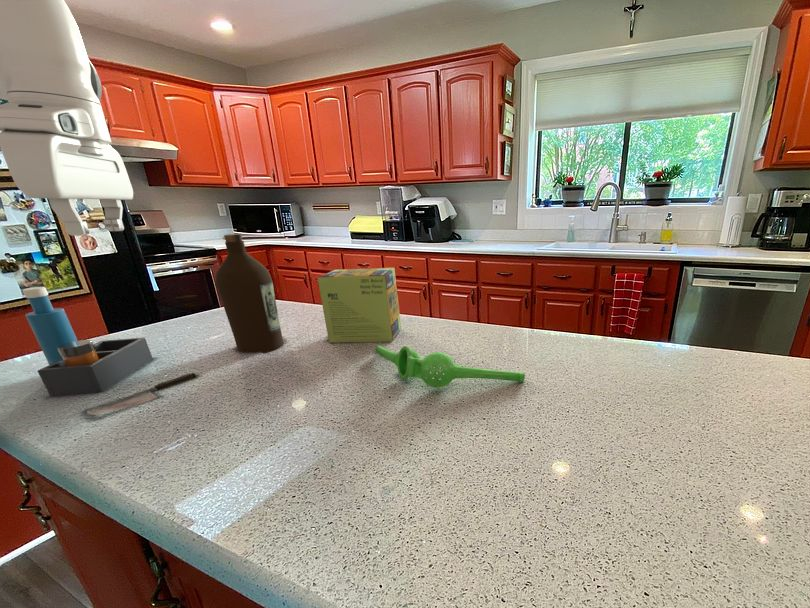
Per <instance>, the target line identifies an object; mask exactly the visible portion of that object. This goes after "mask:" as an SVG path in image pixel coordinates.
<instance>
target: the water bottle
mask: <svg viewBox="0 0 810 608" xmlns="http://www.w3.org/2000/svg"><path fill="white" fill-rule="evenodd" d="M21 291H22V293H23V295H24V298H26V299H27V300H28V302H29V304H30V306H31V308H32V312H31V311H30V312H28V313H25V314H24V316H25V318H26V320H27V322H28V325H29V326H30V328H31V331H32V332H33V334H34V337H35V339H36V340H37V343H38V345H39V347H40V349H41V351H42V353H43V355H44V357H45V359H46V361H47V363H48V365H51V364H53V363H55V362H57V361H59V360H61V359H63V358H62V356H61V355H60V353H59V351H58V349H57V347H58V346H60V345H63V344H66V343H69V342H74V341H79V340H78V338H77V336H76V334H75V331H74V329H73V327H72V324H71V322H70V320H69V318H68V315H67V314H66V311H65V309H64V308H61V307H55V308H54V307H53V305H52V303H51V300H50V298H49V292H48V290H47V288H46V287H45V286H35V287H27V288H24V289H22V290H21Z"/></svg>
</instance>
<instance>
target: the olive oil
mask: <svg viewBox="0 0 810 608" xmlns="http://www.w3.org/2000/svg"><path fill="white" fill-rule="evenodd" d="M223 238H224V240H225V242H224V244H225V248H226V251H227V255H226V257H225V258H224V260H223V261H222V263H221V264H220V265H219V267H218V268H217V271H216V272H215V287H216V289H217V292H218V295H219V297H220V300H221V303H222V306H223V308H224V311H225V315H226V317H227V321H228V323H229V326H230V329H231V332H232V335H233V339H234V342H235V345H236V348H237V351H238V352H240V353H248V354H249V353H262V354H264V353H268V352H272V351H275V350H277V349H279V348H281V347H283V345H284V339H283V338H284V337H283V333H282V328H281V323H280V317H279V313H278V312H279V311H278V307H277V300H276V294H275V289H274V283H273V279H272V276H271V274H270V272H269V270H268V268H267V267H265V265H263V264H262V263H261V262H259V261H258V260H257V259H255V258H254V257H253V256H251V255H250V254H249V253H248V252H247V250H246V246H245V241H244V240H243V237H242V234H240V233H233V234H232V233H231V234H224V235H223Z"/></svg>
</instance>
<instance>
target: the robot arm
mask: <svg viewBox="0 0 810 608" xmlns="http://www.w3.org/2000/svg"><path fill="white" fill-rule="evenodd" d="M71 11H72V10H71V9H70V8H69V6H68V4H67V3H66V1H65V0H0V100H4V101H8V102H5V103H2V104H0V151H1V153H2V155H3V158H4V161H5V163H6V166H7V168H8V170H9V171H8V172H9V173H10V175H11V178H12V180H13V182H14V184H15V186H16V187H17V188H18V189H19V190H20V191H21V192H22V194H23V195H24V196H25V197H27V198H29V199H47V200H48V202H49V205H50V207H51V209H52V211H53V212H54V213H55V214H56V215H57V217H58V218H59V219H60V220H61V222H63V225H64V228H65V230H66V233H67V235H68V236H70V237H71V236H72V237H73V236H76V237H78V236H88V235H89V234H90V229H89V226H88V223H87V221H83V219H82V218H81V216H80V214H79V213H78V211H77V209H78V208H79V207H78V204H77V201H76V200H99V202H100V205H101V208H104V209H103V210H104V218H103V219H102V221H103V225H104V226H105V227H104V228H105V230H106V231H108V232H123V231H124V230H125V226H124V223H123V220H122V219H123V211H124V207H123V202H122V201H132V200H133V199H134V188H133V186H132V182H131V180H130V177H129V174H128V171H127V168H126V166H125V164H124V160H123V157H122V156H121V154H120V153H119V152H118V150H116V149H114V148H113V147H112V145H110V144H112V139H111V134H110V131H109V128H108V124H107V120H106V118H105V113H104V111H103V107H102V103H101V98H102V94H103V87H102V82H101V78H100V77H99V74H98V72H97V70H96V68H95V66H94V65H93V64H92V62H91V61H90V59H89V57H88V54H87V51H86V48H85V44H84V42H83V39H82V35H81V33H80V30H79V27H78V25H77V22H76V20H75V18H74V16H73V14H72V12H71Z"/></svg>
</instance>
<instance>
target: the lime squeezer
mask: <svg viewBox="0 0 810 608" xmlns="http://www.w3.org/2000/svg"><path fill="white" fill-rule="evenodd" d="M375 353H376V354H378V355H380V356H381V357H383V358H385V359H386V360H388V361H390V362H391V363H393V364H394V365H395V366H396V367H397V372H398V375H399V378H400V379H401V380H404V381H405V380H408V379H409V378H417V379H420V380H422V381H423V382H424V383H425V384H426V385H427V386H429V387H431V388H437V389H440V388H444V387H446V386H448V385H450V384H451V383H452V382H453V381H454V380H455V379H457V380H458V379H484V380H499V381H511V382H518V383H522V382H524V381H525V378H526V373H525V372H521V371H509V370H498V369H487V368H479V367H477V368H476V367H468V366H463V365H457V364H456V363H455V362H454V360H453V359H452V357H450V356H449V355H448V354H446V353H444V352H440V351H439V352H432V353H430V354H427V355H426V356H425V357H423V358H421V357H420V354H419V353H418V352H417V351H415V350H414V349H412V348H411V347H410V346H408V345H403V346H402V347H401V348H400V350H399V352H395V351H392V350H388V349H387V348H386V347H383V346H382V345H377V346H376V347H375Z"/></svg>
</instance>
